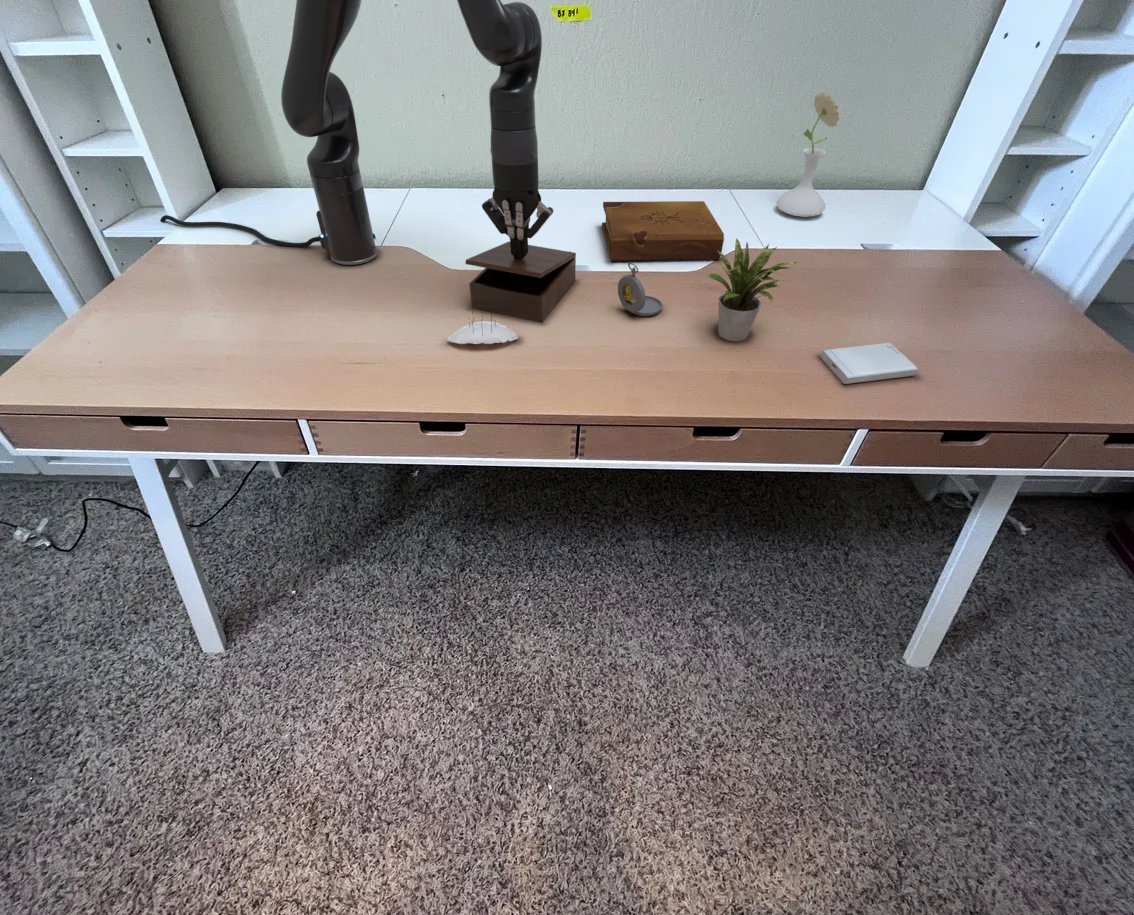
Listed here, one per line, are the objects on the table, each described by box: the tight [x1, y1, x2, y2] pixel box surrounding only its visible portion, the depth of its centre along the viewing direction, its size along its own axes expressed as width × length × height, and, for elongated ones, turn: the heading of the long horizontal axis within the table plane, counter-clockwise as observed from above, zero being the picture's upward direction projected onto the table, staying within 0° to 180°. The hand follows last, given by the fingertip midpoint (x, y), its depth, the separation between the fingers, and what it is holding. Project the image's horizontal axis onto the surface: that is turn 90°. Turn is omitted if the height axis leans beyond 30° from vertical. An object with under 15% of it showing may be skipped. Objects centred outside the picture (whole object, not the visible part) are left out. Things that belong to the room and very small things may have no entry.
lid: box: [465, 241, 577, 278], centre depth 115 cm, size 18×14×1 cm
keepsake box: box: [468, 256, 577, 324], centre depth 118 cm, size 17×14×5 cm
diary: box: [601, 200, 725, 262], centre depth 135 cm, size 23×19×6 cm
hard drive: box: [819, 342, 919, 385], centre depth 102 cm, size 2×8×12 cm
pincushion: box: [446, 306, 519, 347], centre depth 105 cm, size 12×6×6 cm, turn 95°
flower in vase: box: [775, 91, 840, 218], centre depth 143 cm, size 13×11×25 cm
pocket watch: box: [617, 262, 663, 317], centre depth 112 cm, size 8×8×10 cm
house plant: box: [706, 238, 799, 342], centre depth 103 cm, size 14×14×16 cm
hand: (519, 257), depth 113 cm, fingers closed
